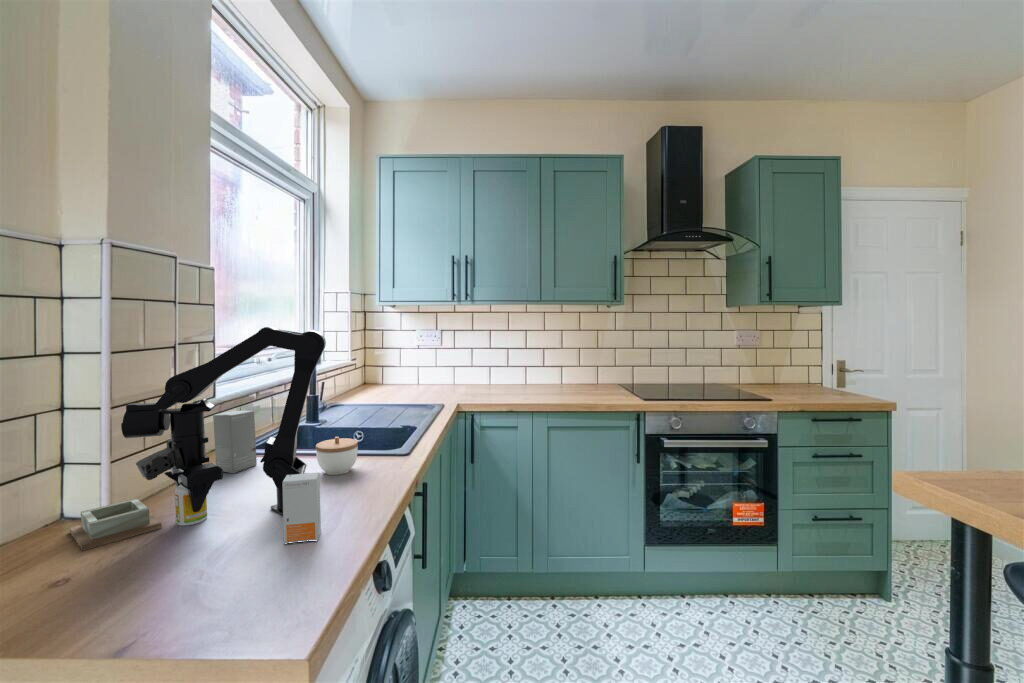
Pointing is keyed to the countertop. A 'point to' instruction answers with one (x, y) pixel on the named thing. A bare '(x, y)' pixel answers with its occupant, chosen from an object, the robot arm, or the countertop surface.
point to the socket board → (113, 523)
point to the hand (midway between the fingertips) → (191, 508)
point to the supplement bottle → (187, 507)
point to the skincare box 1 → (235, 440)
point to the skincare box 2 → (301, 507)
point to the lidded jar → (337, 455)
